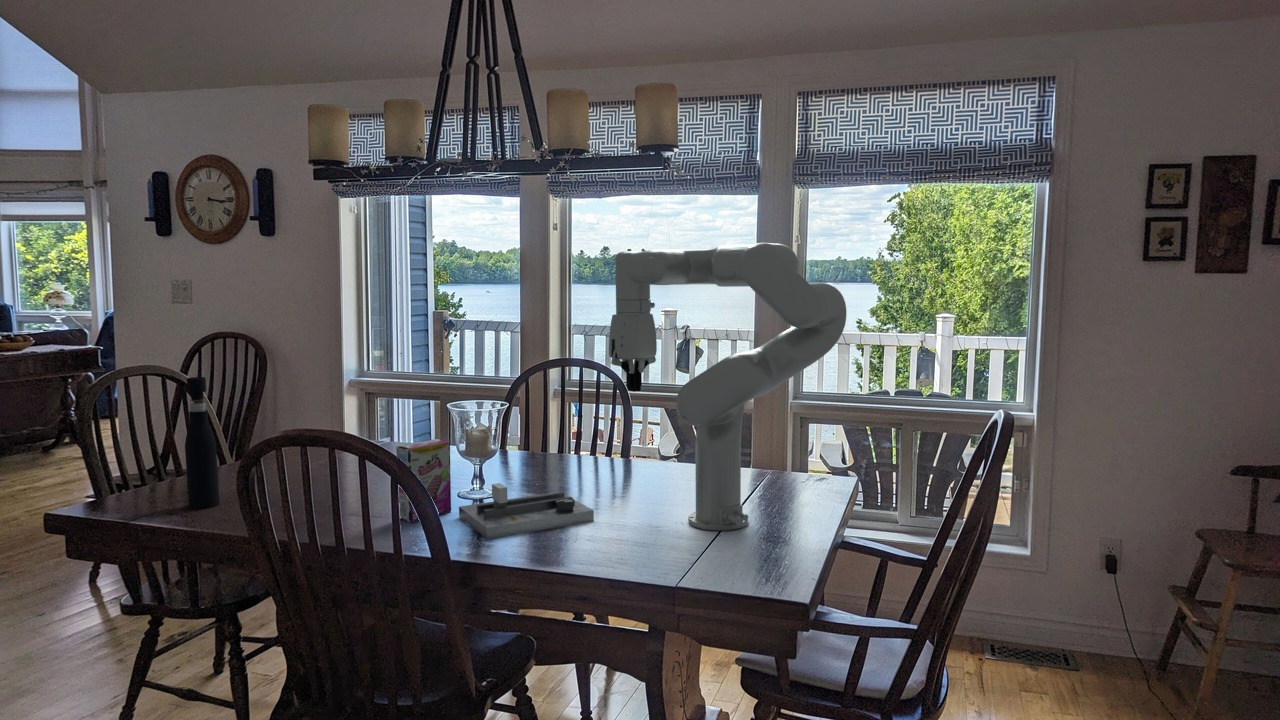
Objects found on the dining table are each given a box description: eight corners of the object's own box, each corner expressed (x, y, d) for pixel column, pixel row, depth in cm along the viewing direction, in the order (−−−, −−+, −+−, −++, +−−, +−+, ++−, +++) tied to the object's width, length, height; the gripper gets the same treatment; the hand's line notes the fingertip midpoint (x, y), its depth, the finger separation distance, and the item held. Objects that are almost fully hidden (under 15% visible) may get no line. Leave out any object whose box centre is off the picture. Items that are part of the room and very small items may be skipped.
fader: (508, 513, 181) (507, 487, 180) (499, 514, 180) (498, 488, 179) (500, 508, 184) (500, 483, 184) (492, 509, 183) (491, 484, 183)
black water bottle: (206, 509, 195) (198, 379, 192) (182, 508, 196) (173, 379, 193) (225, 502, 201) (217, 376, 198) (202, 501, 203) (193, 376, 199)
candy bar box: (411, 524, 182) (408, 448, 181) (397, 519, 186) (394, 445, 184) (453, 512, 191) (450, 440, 189) (439, 508, 194) (436, 437, 193)
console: (593, 520, 183) (593, 500, 183) (487, 539, 171) (486, 517, 171) (559, 501, 199) (558, 482, 198) (459, 517, 187) (458, 497, 187)
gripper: (653, 306, 194) (654, 386, 196) (594, 308, 187) (596, 391, 188) (671, 307, 187) (671, 389, 189) (610, 309, 180) (612, 395, 182)
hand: (634, 390), depth 189 cm, fingers closed
